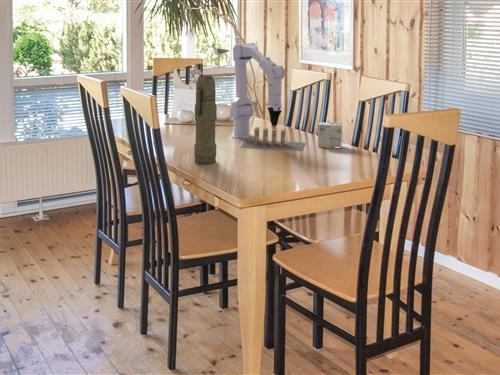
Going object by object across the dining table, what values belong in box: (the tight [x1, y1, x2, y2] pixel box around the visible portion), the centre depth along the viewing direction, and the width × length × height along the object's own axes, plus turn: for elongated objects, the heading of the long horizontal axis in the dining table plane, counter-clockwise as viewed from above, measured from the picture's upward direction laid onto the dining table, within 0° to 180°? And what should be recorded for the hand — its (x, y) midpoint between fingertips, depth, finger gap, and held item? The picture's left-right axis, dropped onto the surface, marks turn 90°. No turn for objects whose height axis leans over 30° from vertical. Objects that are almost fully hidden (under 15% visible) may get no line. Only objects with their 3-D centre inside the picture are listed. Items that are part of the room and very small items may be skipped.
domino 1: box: [253, 126, 260, 145], centre depth 353 cm, size 2×5×7 cm, turn 172°
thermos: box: [193, 74, 218, 165], centre depth 314 cm, size 9×12×35 cm
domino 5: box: [280, 128, 287, 146], centre depth 351 cm, size 2×5×7 cm, turn 172°
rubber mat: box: [239, 139, 307, 152], centre depth 351 cm, size 18×28×1 cm, turn 82°
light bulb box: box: [317, 121, 343, 149], centre depth 350 cm, size 11×7×11 cm, turn 84°
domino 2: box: [262, 127, 269, 145], centre depth 352 cm, size 2×5×7 cm, turn 172°
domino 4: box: [271, 127, 278, 146], centre depth 352 cm, size 2×5×7 cm, turn 172°
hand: (273, 124), depth 345 cm, fingers closed on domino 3, 5 cm apart
